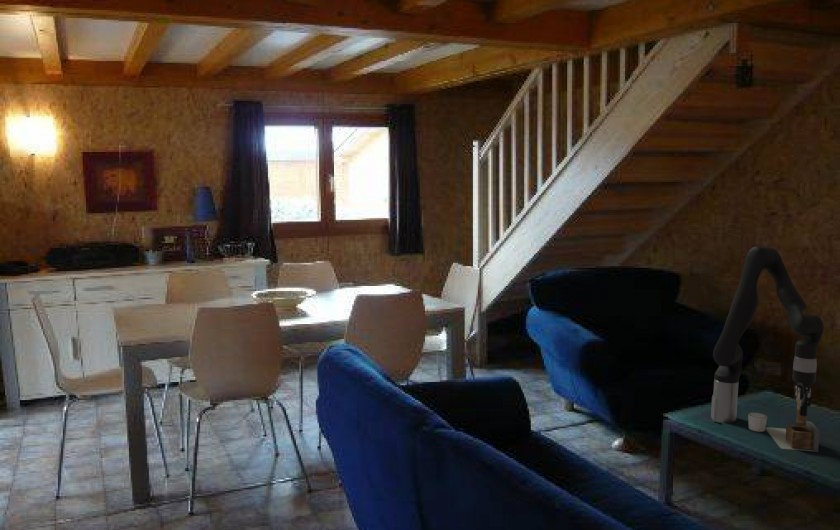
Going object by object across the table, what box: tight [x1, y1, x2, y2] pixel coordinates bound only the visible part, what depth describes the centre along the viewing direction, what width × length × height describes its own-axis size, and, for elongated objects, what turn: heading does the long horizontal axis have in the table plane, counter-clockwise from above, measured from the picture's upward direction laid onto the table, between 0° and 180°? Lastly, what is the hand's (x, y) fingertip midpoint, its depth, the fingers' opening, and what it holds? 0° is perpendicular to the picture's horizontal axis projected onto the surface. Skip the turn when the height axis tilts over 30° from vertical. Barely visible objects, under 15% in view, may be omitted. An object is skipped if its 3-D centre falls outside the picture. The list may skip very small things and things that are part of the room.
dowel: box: [795, 392, 807, 426], centre depth 255 cm, size 3×3×12 cm
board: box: [765, 426, 817, 453], centre depth 264 cm, size 12×23×1 cm, turn 167°
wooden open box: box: [785, 424, 814, 449], centre depth 257 cm, size 7×8×6 cm
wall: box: [806, 420, 821, 453], centre depth 256 cm, size 2×10×8 cm, turn 167°
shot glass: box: [747, 411, 768, 432], centre depth 274 cm, size 7×7×7 cm
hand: (801, 414), depth 256 cm, fingers closed on dowel, 3 cm apart
